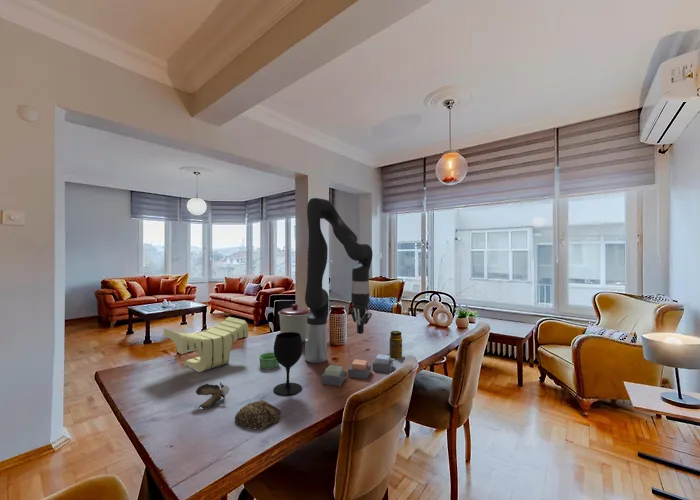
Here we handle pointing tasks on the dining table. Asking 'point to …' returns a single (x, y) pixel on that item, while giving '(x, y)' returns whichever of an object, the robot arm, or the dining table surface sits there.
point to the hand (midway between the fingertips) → (360, 333)
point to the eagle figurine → (212, 393)
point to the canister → (294, 320)
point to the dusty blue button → (383, 359)
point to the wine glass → (287, 359)
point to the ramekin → (268, 360)
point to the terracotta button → (359, 364)
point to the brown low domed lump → (258, 415)
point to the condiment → (395, 345)
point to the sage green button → (334, 370)
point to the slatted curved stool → (210, 343)
